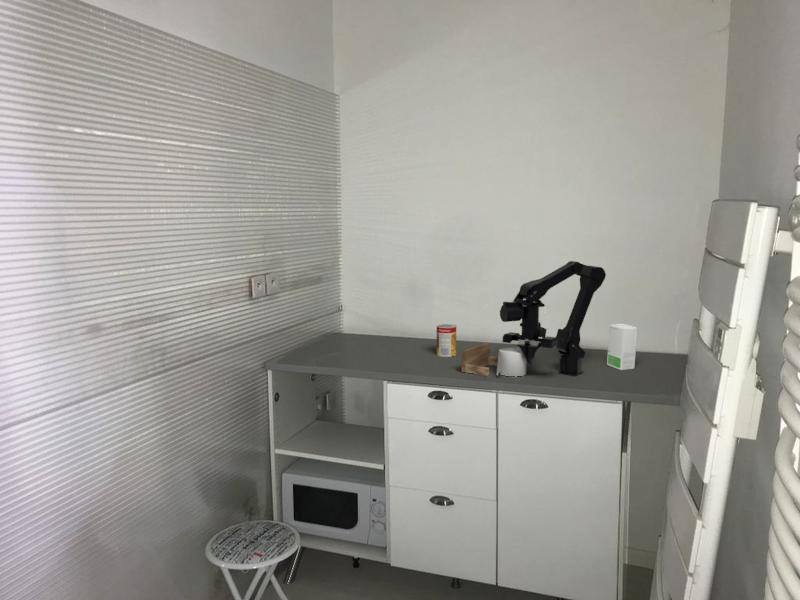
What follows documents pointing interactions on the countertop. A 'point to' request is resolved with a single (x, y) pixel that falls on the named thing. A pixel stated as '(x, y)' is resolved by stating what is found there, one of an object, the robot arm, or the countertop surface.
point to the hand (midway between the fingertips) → (529, 364)
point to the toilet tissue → (511, 362)
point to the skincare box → (622, 346)
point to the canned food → (446, 340)
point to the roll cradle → (478, 359)
